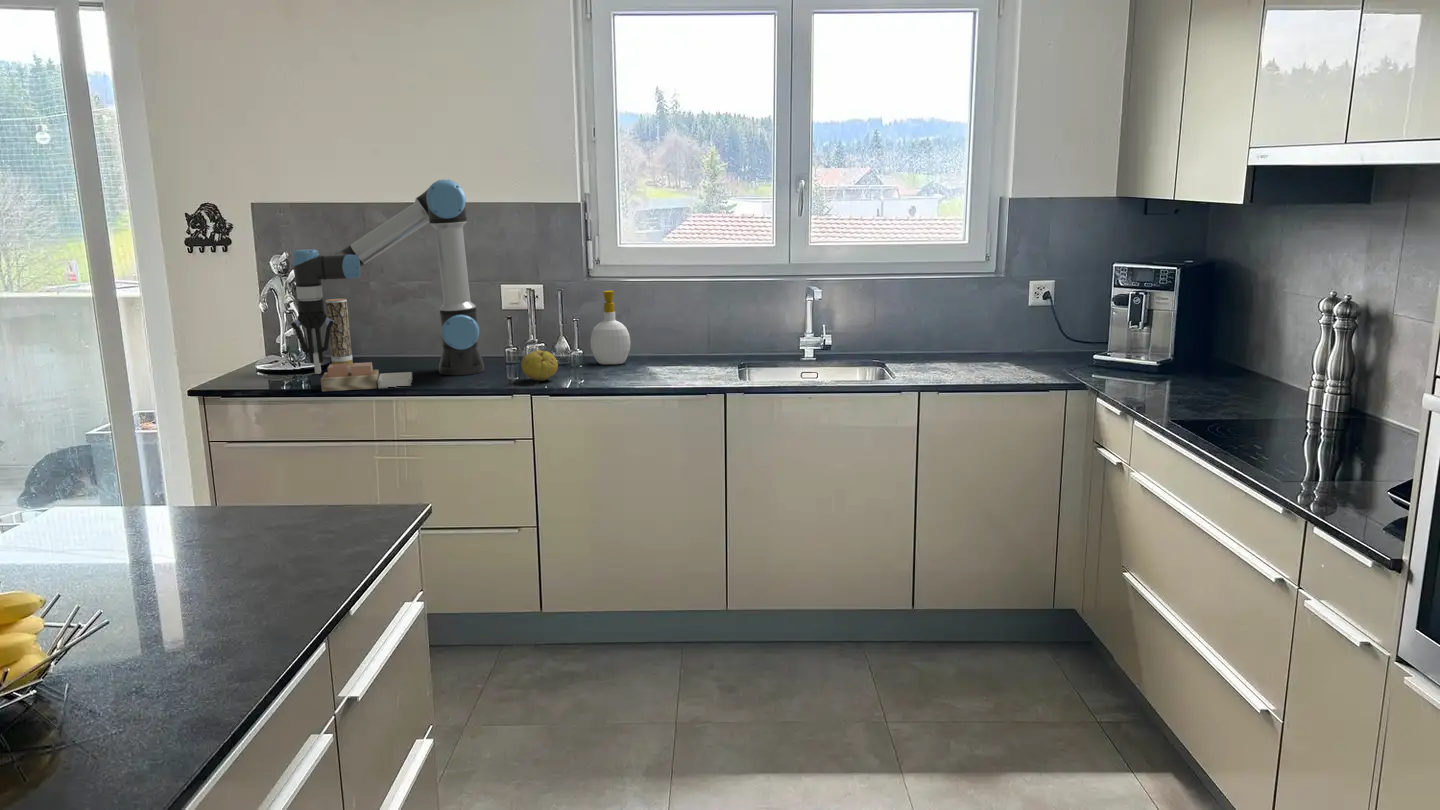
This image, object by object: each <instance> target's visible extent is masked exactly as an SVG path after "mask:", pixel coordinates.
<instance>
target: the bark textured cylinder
mask: <svg viewBox="0 0 1440 810" xmlns="http://www.w3.org/2000/svg"><path fill="white" fill-rule="evenodd" d="M325 309H326V316H327V318H329V319H331V320H334V324H333V326H332V328H331V334H330V341H329V348H330V356H331V364H349V365H350V371H351V365H352V363H354V362H353V361H354V360H353V352H352V351H353V350H352V341H351V340H352V339H351V329H350V321H349V320H350V319H349V311H348V310H349V308H348V300H347V298H331V299H329V298H327V299H325Z"/></svg>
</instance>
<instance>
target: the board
mask: <svg viewBox="0 0 1440 810" xmlns="http://www.w3.org/2000/svg"><path fill="white" fill-rule="evenodd" d="M379 376H380V372H379V369H373V372H372V374H371V375H359V376H352V375H351V371H350V374H349V376H341V377H328V371H327V372H324V373H323V375H322V376H321V378H320V385H321V391H322V392H333V391H334V392H335V391H336V392H337V391H350V390H351V391H352V390H371V389H377V388H378V378H379Z"/></svg>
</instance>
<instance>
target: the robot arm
mask: <svg viewBox="0 0 1440 810" xmlns="http://www.w3.org/2000/svg"><path fill="white" fill-rule="evenodd" d="M466 197H467V196H466V194H465V191H464V190H463V188H462V187H461V186H460V185H459V184H458V183H457V182H455V181H454V180H450V179H438V180H436V181H435V182H432V184H431V185H430V186H429V187H428V188H427V189H426V190H425V191H424V192H422V193H421V195H419V196H417V197H415V199H414V202H413V203H412V204H411V205H409V206H408V207H406V208H405V209H403V210H401V211H400V212H399V213H396V214H395V215H394V216H392V217H391V218H390V219H388V220H385V222H383V223H381V224H380V225H379V226H376V227H375V228H374V229H372V230H371V231H369V232H368V233H366V234H364V236H362V237H360V238H359V239H357V240H356V241H354V242H352V243H351V244H350V245H348V246H346V247H345V248H343V249H341V250H340V251H338V252H336V253H334V254H333V255H320V253H319V251H318V250H317V249H311V248H310V249H308V248H307V249H306V248H305V249H297V250H295V251H293V252H292V262H293V263H292V264H293V265H292V266H293V272H294V281H295V289H296V290H295V291H296V299H298V301H297V307H298V308H297V310H298V316H297V319H296V320H295V321H292V322H291V323H290V326H291V327H292V328H293V330H294V332H295V333H296V336H297V339H298V340H299V341H298V342H299V344H300V346H301V349H302V352H305V353H308V354H309V361H310V363H311V364H313V366H314V373H315V375H317V374H318V375H319V374H321V373H322V367H321V364H322V363H324V352H326V351H328V349H329V348H330V334H331V328H332V326H333V324H334V320H331V319H329V318H327V313H326V312H325V305H324V303H325V302H324V299H322V298H323V297H324V295H323V286H322V280H324V281H325V280H351V279H359V278H360V277H361V276H362V275H361V273H362V267H364V265H365V264H368V263H369V262H370V261H372V260H373V259H375V258H376V257H378V256H379V255H381V254H383V253H384V252H385V251H387V250H388V249H390V248H392V247H393V246H395V245H397V244H398V243H399V242H401V241H402V240H404V239H406V238H408V237H409V236H410V235H411V234H413V233H415V232H416V231H418V230H420V229H421V228H422V227H425V225H427V224H429V225H430V226H431V227H433V228H434V230H435V238H436V239H435V241H436V247H437V257H438V264H439V273H440V282H441V290H442V301H443V304H442V305H441V306H440V307H439V317H440V318H439V319H440V327H441V329H440V330H441V331H440V332H441V341H442V353H441V357H440V359H439V360H440V361H439V365H438V372H439V374H440V375H445V376H466V375H467V376H468V375H469V376H470V375H475V374H479V373H482V372H484V371H485V365H484V361H483V358H482V355H481V353H480V350H479V348H478V339H479V337H480V333H481V332H480V326H479V323H478V314H477V305H476V304H474V303H473V302H472V301H471V293H470V285H469V284H470V283H469V276H468V275H469V274H468V273H469V272H468V266H467V265H468V263H467V257H466V256H467V255H466V247H465V245H466V244H465V236H464V235H465V234H464V226H465V225H466V224H467V223H468V219H467V210H466V209H467V208H466V202H467V198H466ZM324 323H325V325H326V330H325V336H324V343H323V340H322V332H321V331H322V328H321V327H322V326H324ZM301 325H302V327H304V328H305V330H306V336H307V343H306V340H305V337H304V334H303V332H302V329H301V327H300V326H301ZM313 329H314V332H315V339H316V348H317V349H316V350H317V351H315V347H314V337H313Z"/></svg>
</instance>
